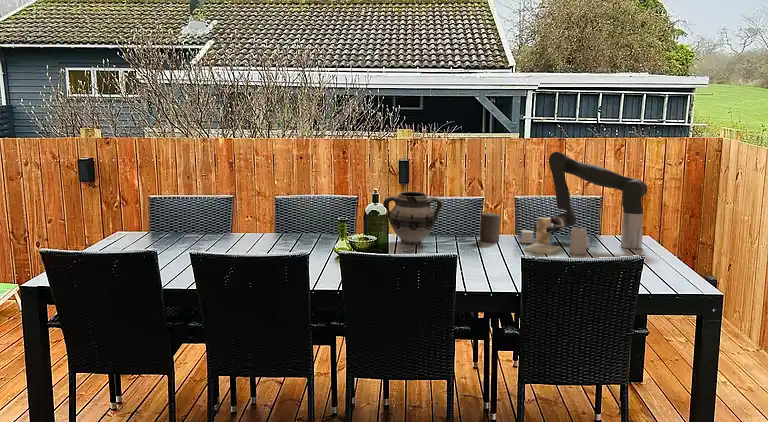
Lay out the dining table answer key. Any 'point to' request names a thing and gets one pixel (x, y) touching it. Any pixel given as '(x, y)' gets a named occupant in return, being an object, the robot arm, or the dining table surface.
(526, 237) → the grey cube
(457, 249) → the dining table surface
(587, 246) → the steel puck
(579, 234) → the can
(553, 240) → the dining table surface
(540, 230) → the oak block
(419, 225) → the ceramic pot
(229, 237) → the dining table surface
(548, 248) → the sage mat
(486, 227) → the pillar candle
